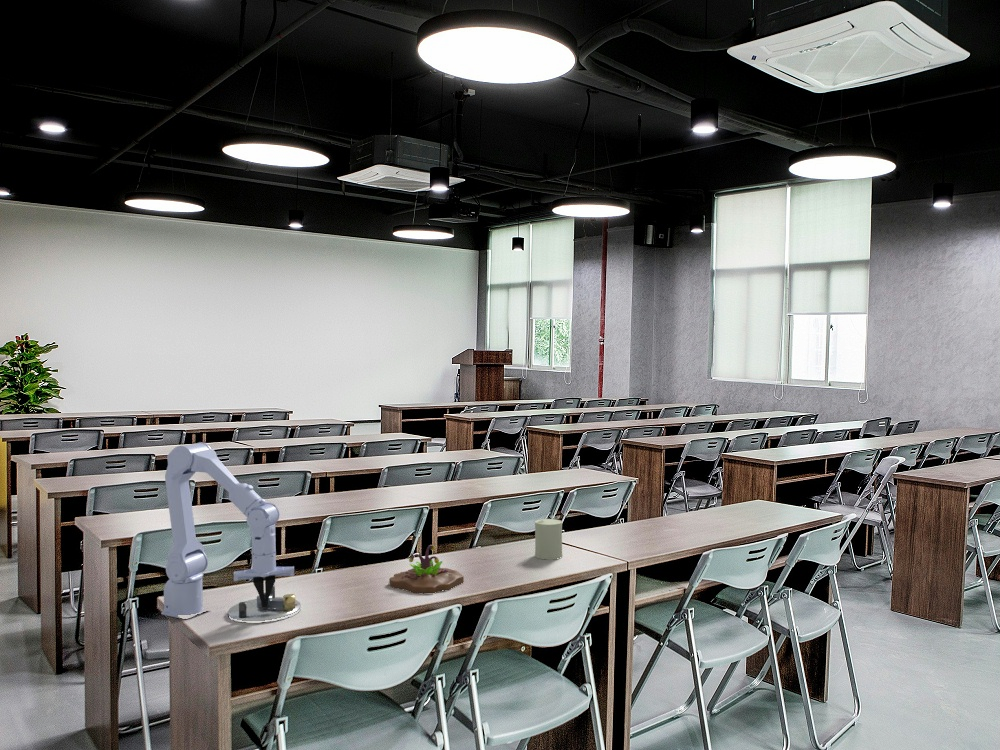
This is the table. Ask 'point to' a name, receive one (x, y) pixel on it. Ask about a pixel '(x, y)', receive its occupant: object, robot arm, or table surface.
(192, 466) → the robot arm
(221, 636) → the table surface
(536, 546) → the can
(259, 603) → the crank
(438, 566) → the plant
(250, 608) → the crank base
